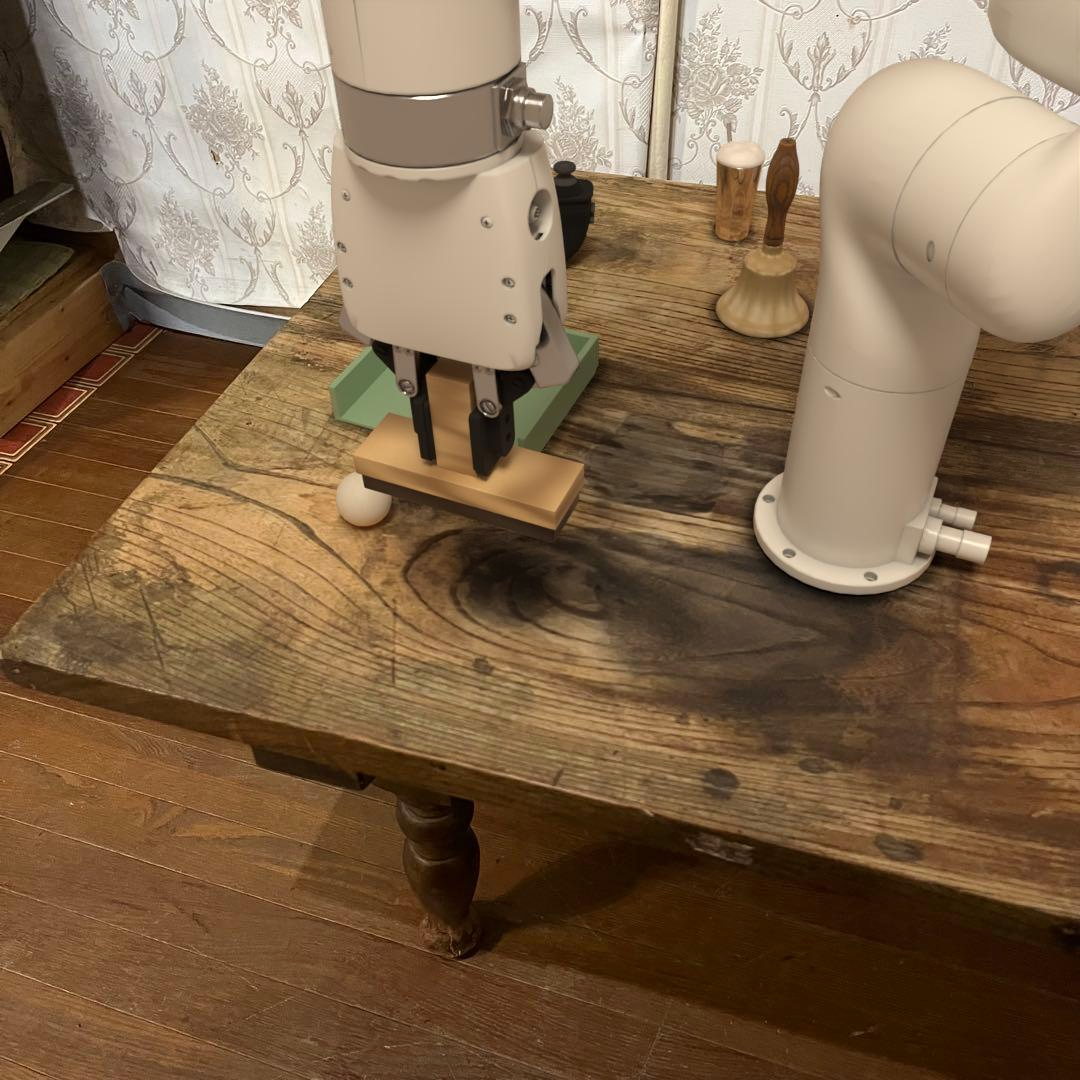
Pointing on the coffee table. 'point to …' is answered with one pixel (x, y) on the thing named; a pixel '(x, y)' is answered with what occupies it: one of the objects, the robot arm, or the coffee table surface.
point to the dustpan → (537, 414)
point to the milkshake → (736, 186)
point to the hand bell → (769, 264)
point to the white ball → (360, 502)
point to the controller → (573, 206)
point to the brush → (468, 465)
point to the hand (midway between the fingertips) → (466, 449)
